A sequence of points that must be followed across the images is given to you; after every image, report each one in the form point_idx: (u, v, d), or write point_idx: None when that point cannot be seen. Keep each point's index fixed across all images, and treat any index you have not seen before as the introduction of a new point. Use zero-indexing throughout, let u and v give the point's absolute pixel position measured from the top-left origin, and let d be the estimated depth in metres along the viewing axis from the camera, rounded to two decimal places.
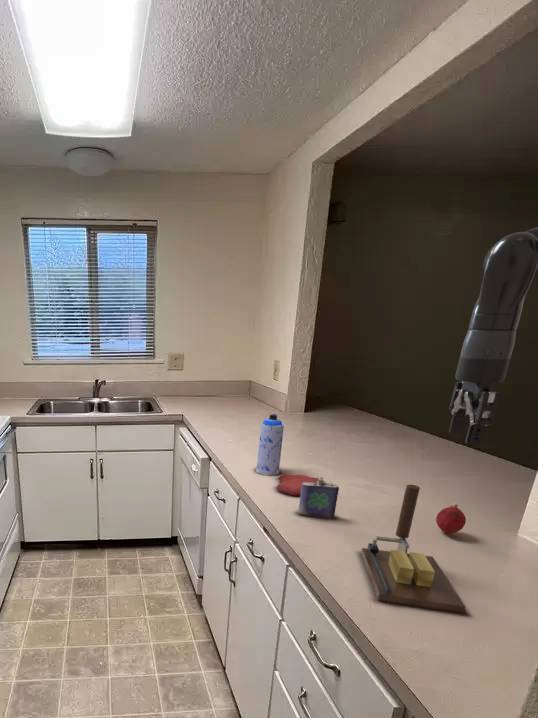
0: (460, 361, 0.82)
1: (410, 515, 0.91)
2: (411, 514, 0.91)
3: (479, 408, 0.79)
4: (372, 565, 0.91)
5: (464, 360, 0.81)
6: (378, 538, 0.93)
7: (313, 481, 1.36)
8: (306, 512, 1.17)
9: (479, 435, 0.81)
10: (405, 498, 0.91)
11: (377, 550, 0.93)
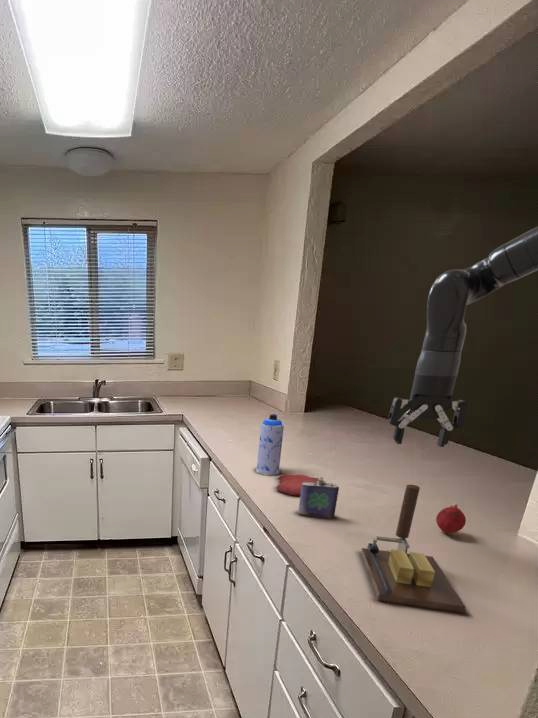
0: None
1: (410, 515, 0.91)
2: (411, 514, 0.91)
3: None
4: (372, 565, 0.91)
5: None
6: (378, 538, 0.93)
7: (313, 481, 1.36)
8: (306, 512, 1.17)
9: (395, 434, 0.99)
10: (405, 498, 0.91)
11: (377, 550, 0.93)
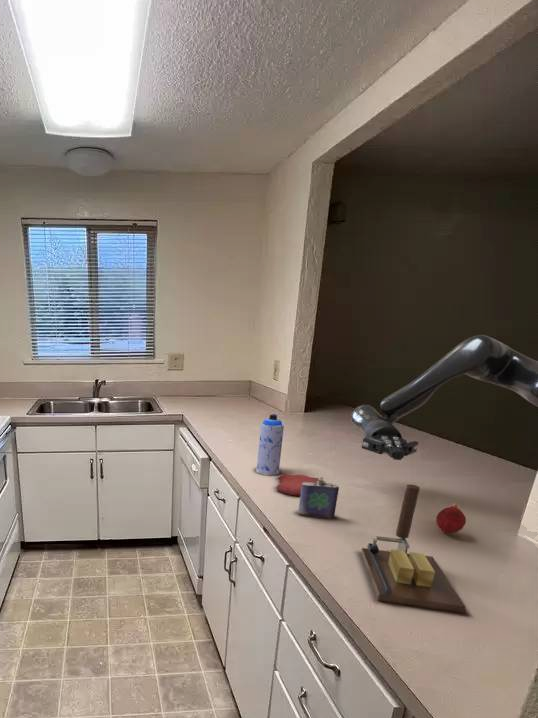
0: None
1: (410, 515, 0.91)
2: (411, 514, 0.91)
3: (372, 450, 1.08)
4: (372, 565, 0.91)
5: None
6: (378, 538, 0.93)
7: (313, 481, 1.36)
8: (306, 512, 1.17)
9: (389, 451, 1.02)
10: (405, 498, 0.91)
11: (377, 550, 0.93)
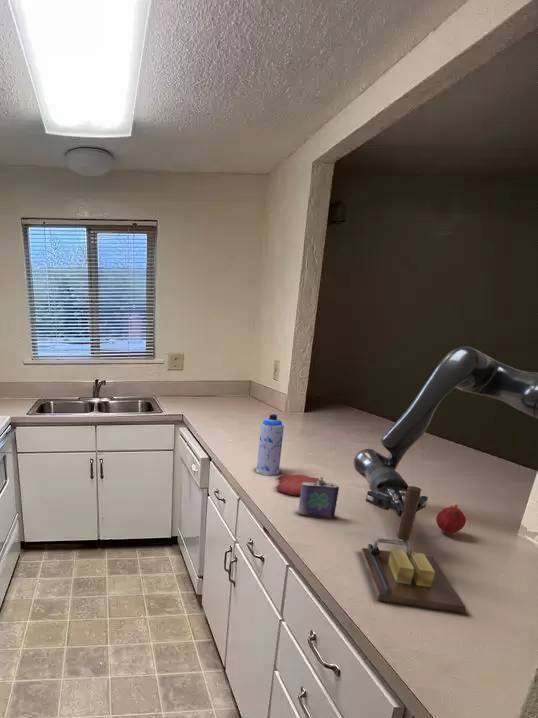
0: None
1: (412, 517, 0.90)
2: (412, 516, 0.90)
3: None
4: (372, 565, 0.91)
5: None
6: (379, 540, 0.92)
7: (313, 481, 1.36)
8: (306, 512, 1.17)
9: (396, 508, 0.94)
10: (406, 500, 0.90)
11: (378, 552, 0.92)
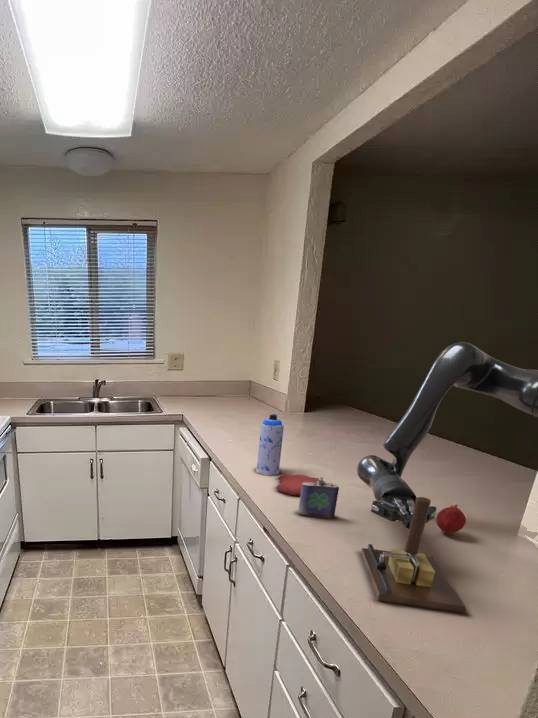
0: None
1: (420, 529, 0.85)
2: (421, 529, 0.85)
3: None
4: (372, 565, 0.91)
5: None
6: (385, 554, 0.87)
7: (313, 481, 1.36)
8: (306, 512, 1.17)
9: (404, 520, 0.89)
10: (415, 512, 0.84)
11: (384, 567, 0.87)
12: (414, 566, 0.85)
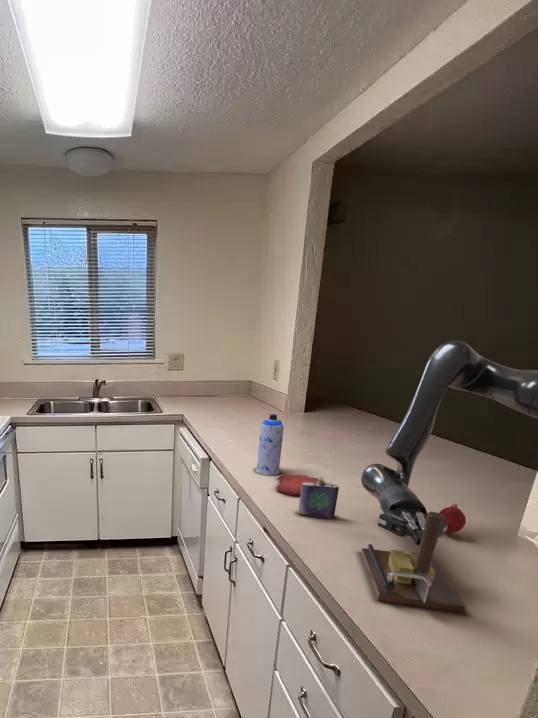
0: None
1: (432, 547, 0.78)
2: (433, 546, 0.78)
3: None
4: (372, 565, 0.91)
5: None
6: (394, 573, 0.81)
7: (313, 481, 1.36)
8: (306, 512, 1.17)
9: (414, 536, 0.83)
10: (426, 528, 0.78)
11: (393, 587, 0.81)
12: (425, 586, 0.78)
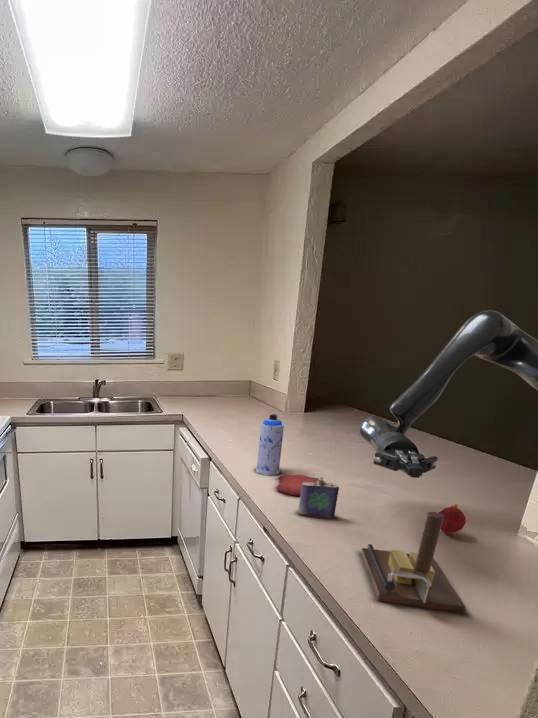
0: None
1: (432, 547, 0.78)
2: (433, 546, 0.78)
3: None
4: (372, 565, 0.91)
5: None
6: (394, 573, 0.81)
7: (313, 481, 1.36)
8: (306, 512, 1.17)
9: (406, 467, 0.91)
10: (426, 528, 0.78)
11: (393, 587, 0.81)
12: (425, 586, 0.78)
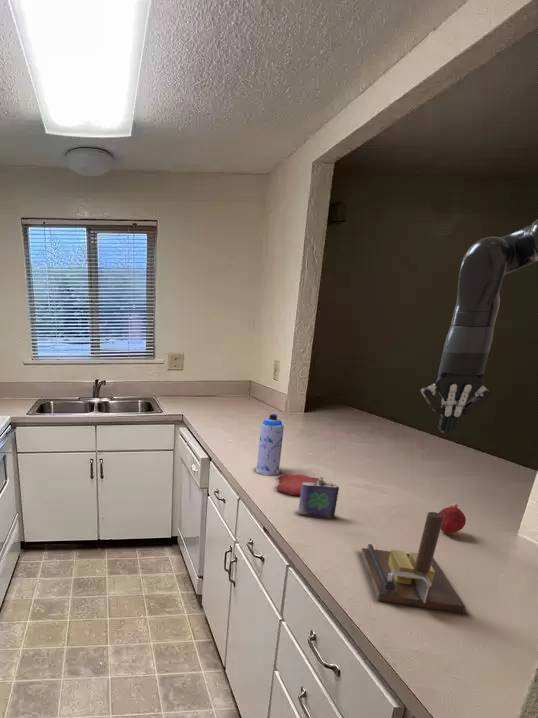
0: None
1: (432, 547, 0.78)
2: (433, 546, 0.78)
3: None
4: (372, 565, 0.91)
5: None
6: (394, 573, 0.81)
7: (313, 481, 1.36)
8: (306, 512, 1.17)
9: (440, 423, 0.93)
10: (426, 528, 0.78)
11: (393, 587, 0.81)
12: (425, 586, 0.78)
